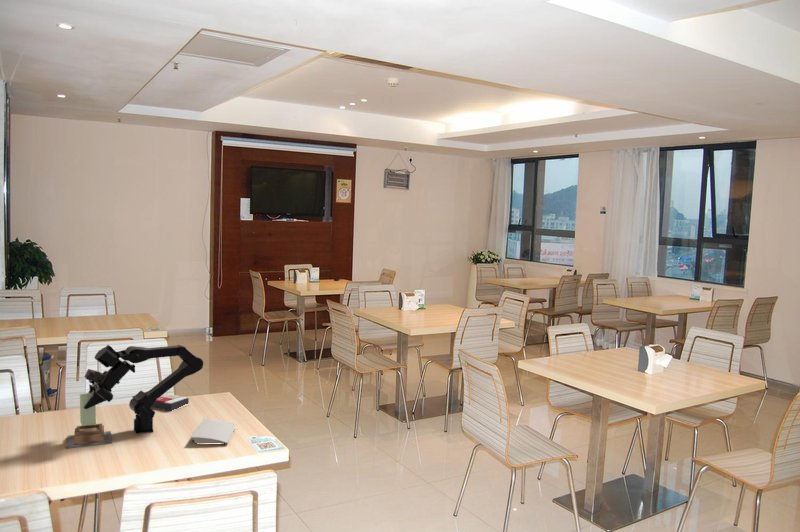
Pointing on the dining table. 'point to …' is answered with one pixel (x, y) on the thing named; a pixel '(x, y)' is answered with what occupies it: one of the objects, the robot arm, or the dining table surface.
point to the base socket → (89, 436)
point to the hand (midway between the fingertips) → (83, 406)
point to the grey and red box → (170, 402)
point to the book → (213, 431)
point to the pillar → (87, 410)
